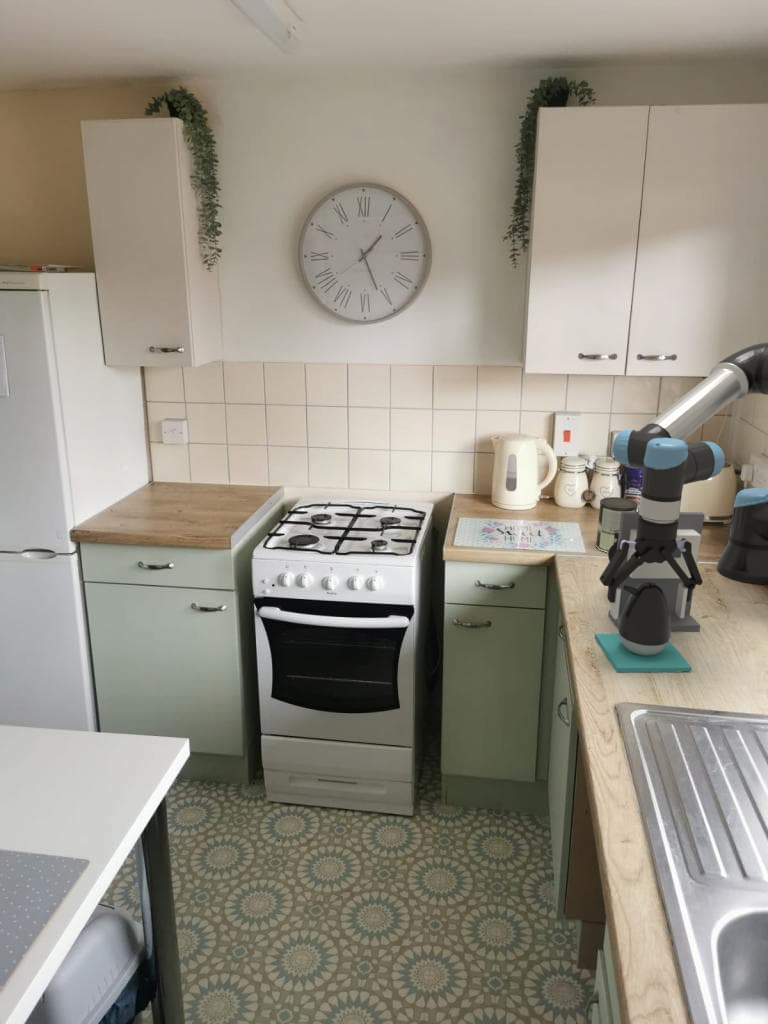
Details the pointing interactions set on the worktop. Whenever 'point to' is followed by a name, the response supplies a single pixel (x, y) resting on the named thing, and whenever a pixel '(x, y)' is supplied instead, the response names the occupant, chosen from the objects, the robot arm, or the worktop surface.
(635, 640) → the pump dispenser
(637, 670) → the mat
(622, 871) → the worktop surface
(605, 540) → the coffee can
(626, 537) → the mounted unit
